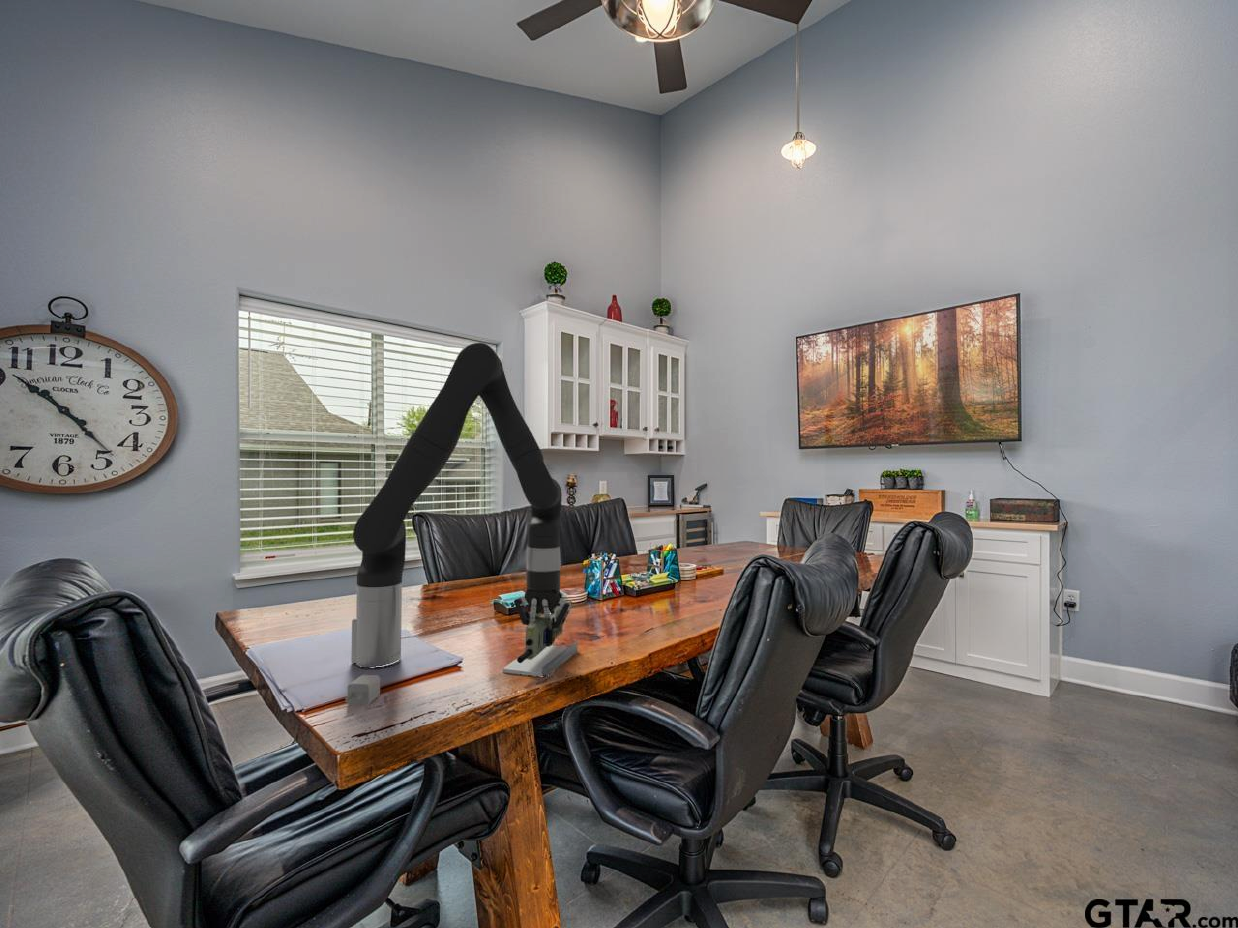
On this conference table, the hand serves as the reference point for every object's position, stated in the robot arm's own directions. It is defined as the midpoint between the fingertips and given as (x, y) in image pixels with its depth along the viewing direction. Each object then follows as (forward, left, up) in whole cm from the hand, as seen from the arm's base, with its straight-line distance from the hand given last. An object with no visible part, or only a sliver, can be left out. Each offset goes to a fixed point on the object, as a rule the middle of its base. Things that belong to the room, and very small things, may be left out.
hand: (542, 644), depth 130 cm
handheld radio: (-1, 0, -1) cm, 1 cm away
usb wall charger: (-22, -32, -4) cm, 39 cm away
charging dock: (0, 0, -4) cm, 4 cm away
